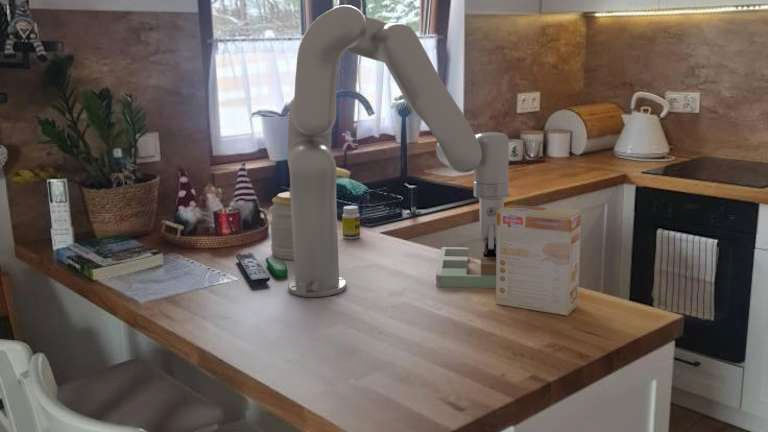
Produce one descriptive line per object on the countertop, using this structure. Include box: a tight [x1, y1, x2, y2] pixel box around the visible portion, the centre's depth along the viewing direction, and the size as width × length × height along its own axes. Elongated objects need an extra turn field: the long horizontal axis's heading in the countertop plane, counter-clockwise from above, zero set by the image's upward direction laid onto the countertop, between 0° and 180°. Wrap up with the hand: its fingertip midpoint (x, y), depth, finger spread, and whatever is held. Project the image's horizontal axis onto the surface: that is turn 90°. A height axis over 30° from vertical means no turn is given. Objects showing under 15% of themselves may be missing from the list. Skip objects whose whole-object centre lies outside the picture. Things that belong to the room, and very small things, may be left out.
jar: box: [268, 186, 294, 261], centre depth 190 cm, size 13×13×18 cm
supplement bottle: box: [341, 205, 361, 240], centre depth 206 cm, size 5×5×8 cm
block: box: [480, 256, 496, 275], centre depth 165 cm, size 5×5×5 cm
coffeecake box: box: [495, 204, 582, 317], centre depth 149 cm, size 15×7×20 cm, turn 59°
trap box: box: [435, 246, 496, 289], centre depth 174 cm, size 23×18×2 cm
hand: (490, 269), depth 170 cm, fingers closed
